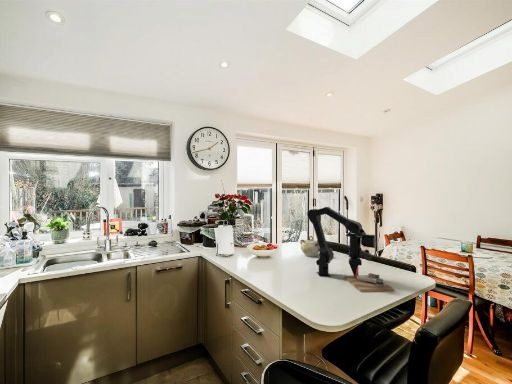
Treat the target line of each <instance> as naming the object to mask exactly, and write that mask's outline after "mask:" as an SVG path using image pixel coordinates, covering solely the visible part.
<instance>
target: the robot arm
mask: <svg viewBox="0 0 512 384" xmlns="http://www.w3.org/2000/svg"><path fill="white" fill-rule="evenodd" d="M306 214H307V215H306V216H307V217H308V220H309V221H310V223H311V224H312V225H313V229H314V232H315V236H316V240H317V242H318V243H319V247H320V251H319V252H318V255H319V258H318V259H317V260H316V261H315V263H316V265H317V266H318V271H316V274H317V275H318V276H319V277H330V276H331V274H330V273H329V265H330V264H331V262H332V261H333V259H334V255H335V253H334V252H333V248H332V247H331V248H330V247H329V246H328V243H327V240H326V236H325V232H324V229H323V225H322V216H323V215H327V216H328V217H330V218H331V219H333V220H335V221H336V222H338V223H340V224H341V225H343V226H344V227H345V229H346V230H347V231H349V232H348V233H346V235H345V236H346V237H349V252H348V264H349V267H350V270H351V273H352V275H356V271H357V267H358V268H359V267H360V266H362V265H363V264H362V262H363V261H362V258H363V259H364V260H367V261H368V262H371V259H372V257H373V254H372V253H371V252H370V250H368V249H365V250H364V249H363V250H362V247H363V248H364V247H365V248H372V249H376V247H377V237H376V234H367V233H366V231H365V230H364V229H363V225H362V224H361V222H359V221H356V220H354V219H350V218H347V217H346V216H344V215H343V214H341V213H340V212H338V211H336V210H335V209H333V208H331V207H330V206H324V207H322V208H311V209H309V210H308V211H307V213H306ZM361 246H362V247H361Z"/></svg>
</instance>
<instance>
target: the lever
mask: <svg viewBox="0 0 512 384" xmlns="http://www.w3.org/2000/svg"><path fill="white" fill-rule="evenodd" d="M354 278H357V279H361V280H365V281H370V282H374V283H377V284H383V282H384V279H383V278H380V277H379V278H376V279H374V278H373V277H369V276H367V277H365V276H360V274H359V266H358V267H357V271H356V275H354Z"/></svg>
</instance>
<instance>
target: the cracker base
mask: <svg viewBox="0 0 512 384" xmlns="http://www.w3.org/2000/svg"><path fill="white" fill-rule="evenodd" d="M369 274H374V275H375V277H376V278H380V274H377V273H376V274H375V273H371V272H370V273H368V274H367V275H366V274H365V275H364V274H363V275H360V274H359V275H360V276H365V277H367V276H369ZM343 278H344V280H346V281H347V282H348V283H350V284H351V285H352V286H353V287H354V288H355V289H356V290H357V291H359V292H361V293H362V292H363V293H364V292H365V293H366V292H367V293H370V292H373V293H374V292H394V291H395V289H394V287H392V286H390V285H389V284H387V283H386V282H385V281H383V284H377V283H374V282H370V281H365V280H361V279H357V278H354V275H353V274H351V275H343ZM376 278H375V279H376Z"/></svg>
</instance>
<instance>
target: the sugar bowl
mask: <svg viewBox="0 0 512 384" xmlns="http://www.w3.org/2000/svg"><path fill="white" fill-rule="evenodd" d="M299 243H300V250H301V252H302V253H303V255H304V256H305V257H317V255H319V251H320V247H319V243H318V241H316V240H314V237H313V236H312V235H310V236H309V237H308V239H307V240H305V239H301V240H300V241H299Z"/></svg>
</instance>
